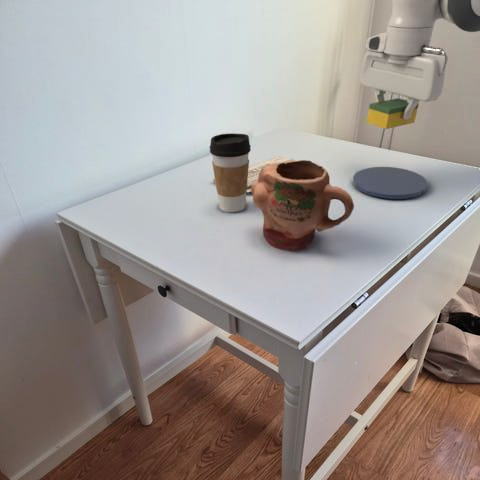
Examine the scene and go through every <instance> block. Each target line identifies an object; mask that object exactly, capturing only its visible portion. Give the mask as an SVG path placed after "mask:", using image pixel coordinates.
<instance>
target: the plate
mask: <svg viewBox="0 0 480 480" xmlns="http://www.w3.org/2000/svg"><path fill="white" fill-rule="evenodd" d="M352 184H353V186H354V188H356V189H357V190H358V191H359V192H361V193H364V194H366V195H368V196H372V197H376V198H381V199H389V200H403V199H411V198H415V197H416V198H417V197H418V196H421V195H423V194H424V193H425V192H426V191H427V188H428V181H427V179H426V178H425V177H424V176H423V175H421V174H420V173H417V172H414V171H413V170H410V169H405V168H400V167H394V166H373V167H372V166H371V167H367V168H363V169H361V170H358V171H357V172H355V173H354V175H352Z"/></svg>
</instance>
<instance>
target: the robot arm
mask: <svg viewBox="0 0 480 480" xmlns="http://www.w3.org/2000/svg"><path fill="white" fill-rule="evenodd" d="M439 19H443V20H444V21H447V22H448V23H451V24H452V25H455V26H456V27H458V28H459V29H460V30H461V31H464V32H468V33H477V32H480V0H392V12H391V15H390V18H389V19H388V22H387V28H386V31H385V32H381V33H379V34H376V35H374V36H373V35H372V36H370V37H368V38H367V39H366V42H365V49H366V50H367V51H366V52H365V53H364V55H363V59H362V63H361V69H360V78H359V80H360V84H361V86H363V87H367V88H371V89H374V99H375V103H376V102H382V101H385V94H387V93H389V94H394V95H397V96H401V97H406V98H407V103H409V105H408V106H407V108H406V109H405V110H402V112H401V116H400V118H401V119H404V120H408V119H410V118H411V114H412V110H414V108H415V107H416V106H417V104H420V101H421V102H425V103H429V102H433V101H436V100H437V99H439V98H440V97H441V96H442V92H443V87H444V82H445V75H446V67H447V63H448V56H447V52H445V50H444V48H443V47H434V46H430V43H431V40H432V36H433V31H434V26H435V23H436V21H437V20H439Z"/></svg>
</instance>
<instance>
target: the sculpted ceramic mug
mask: <svg viewBox="0 0 480 480" xmlns="http://www.w3.org/2000/svg"><path fill="white" fill-rule="evenodd" d="M330 178H331V177H330V175H329V173H328V171H327V169H326V168H325V167H323V166H322V165H320V164H317V163H315V162H313V161H311V160H307V159H301V160H297V161H288V162H282V163H272V164H270V165H268V166H266V167H264V168H262V170H261V171H260V173H259V177H258V181H256V182H255V183H254V184H253V185H252V187H251V194H252V202H253V204H254V206H255V207H256V208H257V209H258V210H260V211H261V213H262V216H263V226H262V235H263V237H264V239H265V241H266V242H267V244H268V245H270V246H272V247H274V248H277V249H280V250H284V251H291V252H292V251H299V250H303V249H304V248H306V247H308V246H309V245H310V244H311V243H312V242H313V240H314V238H315V234H316V231H317V232H320V233H321V232H324V231H326V230H330V229H333V228H335V227H337V226H339V225H341V223H343V222H345V221H346V220H348V219H349V218H350V217H351V216H352V214H353V211H354V208H355V205H354V204H355V203H354V201H353V198H352V196H351V195H350V194H349V192H348V191H346V190H345V189H343V188H341V187H339V186H333V185H331V183H330V181H331V179H330ZM333 200H337V201H339V202H341V203H342V204H343V206H344V207H343V208H344V214H343V215H342V216H340V217H338V218H336V219H332V218H330V217H329V210H330V206H331V202H332V201H333Z"/></svg>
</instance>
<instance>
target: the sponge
mask: <svg viewBox="0 0 480 480" xmlns="http://www.w3.org/2000/svg"><path fill="white" fill-rule="evenodd" d="M407 101H408V99H407V100H406V99H403V98H398V97H397V98H392V99H388V100H384V101H382V102H376V101H375V102H372V103H371V102H370V103H369V106H368V113H367V118H366V123H367V124H369V125H371V126H375V127H378V128H381V129H384V130H389V129H393V128H397V127H402V126H407V125H411V124H415V121H416V117H417V113H418V109H419V104H420V103H418V104H417V106H416V107H415V108H414V110H412V114H411V118H410V119H408V120H404V119H401V118H400V116H401V112H402V110H405V109H406V108H407V106H408V105H409V103H407Z"/></svg>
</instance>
